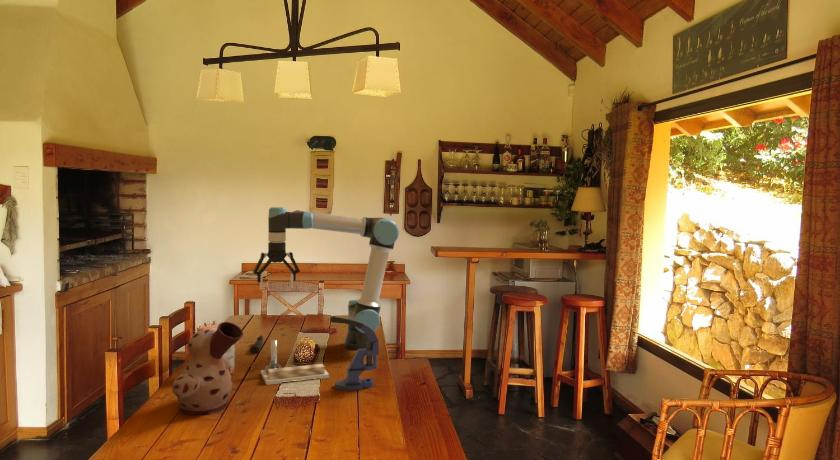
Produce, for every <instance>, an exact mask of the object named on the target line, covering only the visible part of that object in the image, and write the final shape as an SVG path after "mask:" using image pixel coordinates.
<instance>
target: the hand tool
mask: <svg viewBox="0 0 840 460" xmlns="http://www.w3.org/2000/svg"><path fill="white" fill-rule="evenodd" d="M263 344H264V336H263V335H259V336H258V337H257V338H256V341H255V343H254V344H253V346H251V347H250V349H249V352H250V354H251V355H257V354H259V353H260V350H261V348H262V347H263V346H264V345H263Z"/></svg>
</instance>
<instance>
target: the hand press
mask: <svg viewBox="0 0 840 460" xmlns="http://www.w3.org/2000/svg"><path fill="white" fill-rule="evenodd" d="M329 320H330V322H331V323H336V324H346V325H348V324H349V325H353V326H356V327H357V328H359V329H361V330H362V331H364V333H365V334H366V335H367V336H368V338H369V339H370V341H371V342H372V343H371V342H370V341H369V342H367V348H365V349H358V350H357V349H356V353H355V354H354V356H353V358H352V359H351V362H350V363H349V365H348V367H347V369H346V377H345V378H344V379H339V380H337V381H334V389H336V390H339V391H340V390H341V391H362V390H363V389H370V388H373V387H374V386H375V385H374V384H375V381H374V379H372V378H366V377H365V378H362V379H360V375H361V374H362V373H363V372H365V371H372V370H375V369H377V368H378V356H379V347H380V346H379V345H380V344H379V339H378V336H377V334H376V333H375V331H373V330H372V329H371V328H369V327H368V326H366V325H364V324H363V323H360V322H357V321H354V320H350V319H348V318H344V317H339V316H335V315H334V316H331V317H330V319H329ZM364 358H365V359H366V360H365V361H366V362H365V363H364Z"/></svg>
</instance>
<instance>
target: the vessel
mask: <svg viewBox="0 0 840 460" xmlns="http://www.w3.org/2000/svg"><path fill="white" fill-rule="evenodd" d="M218 324H219V325H218V328H217V330H216V332H215V331H214V330H211V329H205V330H201V331H198V332H197V331H195V332H194V333H193V334H192V335H191V336H190V338H189V340H188V343H187V350H188V352H189V353H190V355H191V356H190V359H189V361H188V362H187V364H185V365H186V366H185V367H184V368H183V370H182V372H181V373H180V375H179V376H177V377H176V379H174V381H173V382H172V386H171V389H172V394H174V395H175V396H176V398H177V401H178V403H179V406H178V409H179V412H180V413H182V414H185V415H198V416H199V415H207V414H209V415H210V414H214V413H217V412H219V411H222V410H223V409H225V408H226V407H227V406H228V405H229V399H228V398H229V396H230V395H231V392H232V389H233V379H232V375H230V372H229V371H230V369H231V364H230V362H229V360H228V358H227V357H226V356H223V355H224V354H225V352H226V351H227V350H228V349H229V348H230V347H231V346H233V345H234V344H235V345H236V343H237V342H238V341H240V340H241V339H242V338H243V337H244V332H243V330H242V328H241V327H240V326H238V325H237V324H235V323H233V322H230V321H224V322H223V321H222V322H220V323H218Z"/></svg>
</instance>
